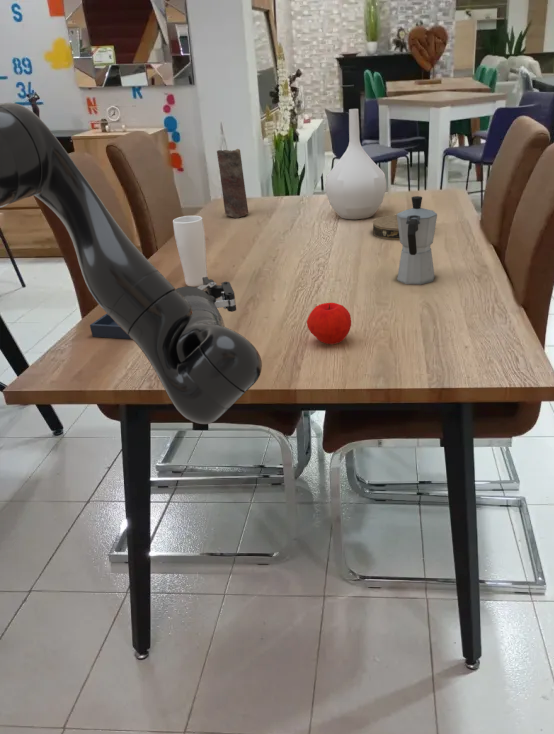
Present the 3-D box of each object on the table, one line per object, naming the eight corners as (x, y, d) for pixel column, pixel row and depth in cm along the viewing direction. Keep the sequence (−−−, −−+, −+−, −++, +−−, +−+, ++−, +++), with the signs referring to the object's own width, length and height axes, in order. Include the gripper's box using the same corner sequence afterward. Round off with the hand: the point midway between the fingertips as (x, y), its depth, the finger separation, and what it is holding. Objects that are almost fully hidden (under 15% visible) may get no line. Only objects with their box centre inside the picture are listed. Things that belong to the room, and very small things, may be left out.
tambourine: (441, 234, 188) (441, 223, 186) (388, 242, 183) (388, 231, 182) (413, 222, 201) (413, 211, 199) (363, 230, 196) (363, 219, 195)
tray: (152, 340, 133) (150, 328, 132) (92, 336, 136) (89, 324, 135) (188, 310, 146) (186, 299, 145) (132, 307, 150) (130, 296, 148)
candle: (220, 216, 220) (211, 150, 210) (236, 211, 225) (229, 146, 215) (236, 219, 216) (229, 151, 206) (253, 214, 221) (246, 147, 211)
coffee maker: (400, 269, 163) (401, 190, 154) (438, 270, 160) (440, 190, 152) (390, 290, 150) (389, 205, 141) (430, 291, 148) (433, 205, 139)
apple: (302, 348, 125) (299, 310, 122) (317, 332, 132) (315, 295, 128) (344, 352, 123) (342, 313, 119) (357, 335, 129) (356, 297, 126)
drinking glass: (180, 289, 159) (170, 223, 151) (184, 280, 165) (174, 216, 157) (210, 287, 159) (200, 221, 151) (212, 278, 165) (204, 214, 157)
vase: (381, 207, 219) (380, 104, 205) (391, 220, 204) (390, 110, 189) (324, 211, 219) (319, 108, 204) (329, 225, 203) (324, 114, 188)
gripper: (243, 287, 87) (220, 255, 101) (129, 305, 84) (121, 269, 98) (250, 342, 91) (227, 304, 105) (141, 361, 88) (132, 319, 101)
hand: (176, 287), depth 101 cm, fingers open, 8 cm apart
